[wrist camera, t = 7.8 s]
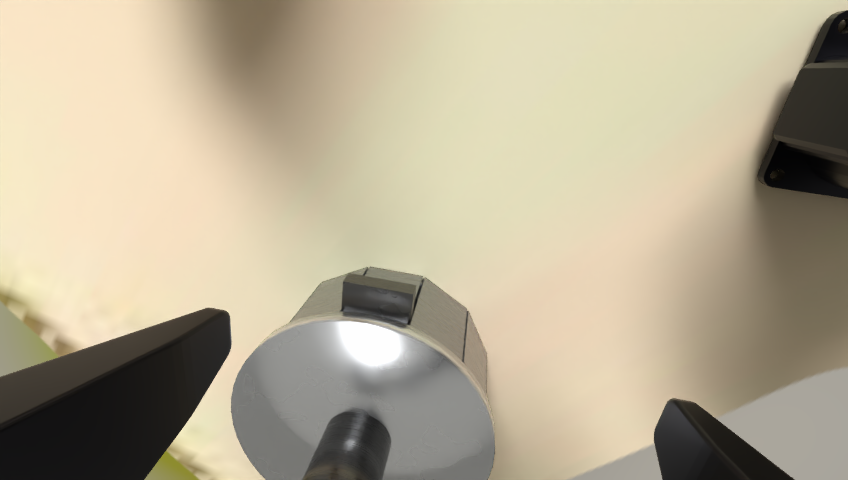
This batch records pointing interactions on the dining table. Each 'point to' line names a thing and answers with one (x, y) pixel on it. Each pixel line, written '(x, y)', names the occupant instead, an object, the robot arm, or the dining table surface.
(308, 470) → the lid
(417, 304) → the grey low hollow cylinder
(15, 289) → the dining table surface
